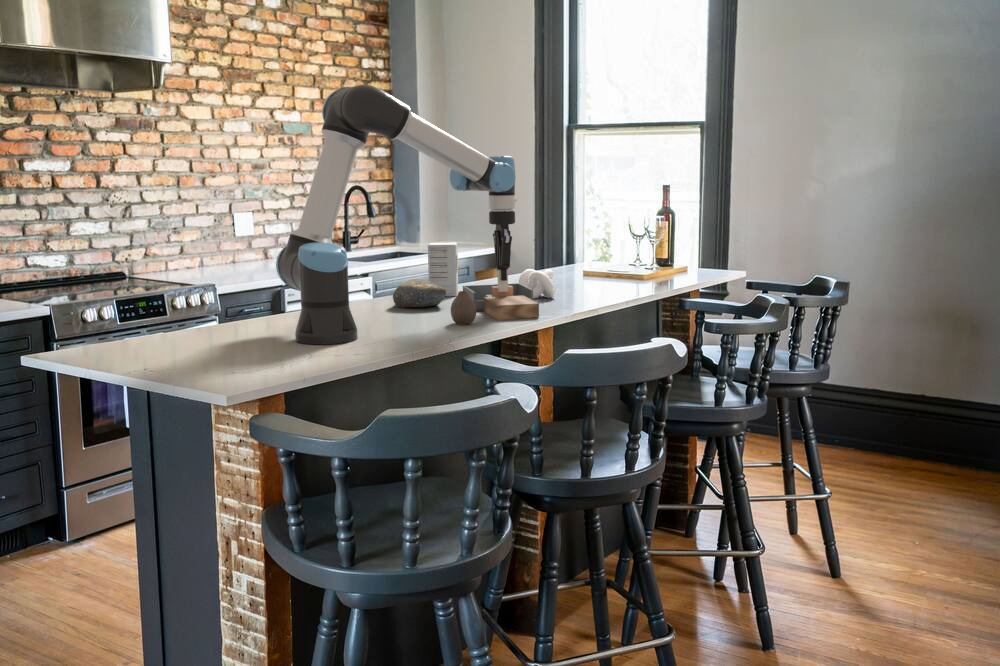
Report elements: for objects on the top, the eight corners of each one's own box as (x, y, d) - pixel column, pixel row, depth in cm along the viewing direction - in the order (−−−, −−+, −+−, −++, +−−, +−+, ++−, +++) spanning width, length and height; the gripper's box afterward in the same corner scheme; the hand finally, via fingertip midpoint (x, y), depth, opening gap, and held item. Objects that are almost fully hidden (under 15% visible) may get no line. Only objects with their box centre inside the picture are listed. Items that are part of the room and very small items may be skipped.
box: (473, 311, 266) (473, 292, 265) (463, 303, 281) (462, 285, 280) (533, 308, 270) (532, 289, 269) (519, 300, 285) (519, 283, 284)
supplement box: (457, 296, 296) (455, 244, 293) (428, 296, 296) (427, 244, 293) (458, 292, 305) (457, 241, 302) (431, 292, 305) (429, 242, 302)
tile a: (493, 287, 268) (491, 286, 270) (493, 307, 269) (491, 306, 271) (513, 286, 269) (511, 285, 272) (513, 306, 270) (511, 305, 273)
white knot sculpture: (566, 298, 290) (566, 270, 288) (535, 301, 283) (535, 273, 281) (544, 294, 299) (544, 266, 297) (514, 297, 292) (514, 269, 291)
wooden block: (497, 319, 251) (496, 305, 250) (484, 310, 266) (483, 297, 266) (538, 317, 254) (538, 303, 253) (523, 308, 269) (523, 295, 269)
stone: (412, 301, 287) (411, 276, 286) (457, 306, 276) (457, 280, 274) (380, 307, 276) (379, 281, 275) (426, 313, 265) (425, 285, 263)
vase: (473, 326, 242) (472, 293, 240) (448, 325, 243) (447, 293, 242) (479, 321, 249) (478, 290, 247) (454, 321, 250) (453, 289, 248)
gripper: (520, 211, 258) (521, 293, 262) (508, 208, 271) (509, 287, 275) (494, 211, 256) (495, 294, 261) (484, 209, 269) (485, 288, 273)
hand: (502, 291), depth 268 cm, fingers closed
